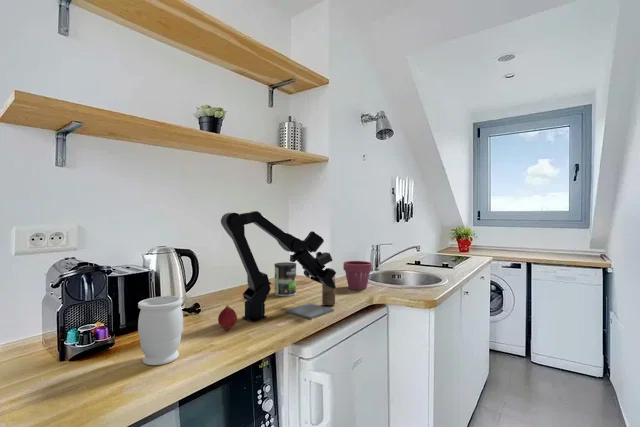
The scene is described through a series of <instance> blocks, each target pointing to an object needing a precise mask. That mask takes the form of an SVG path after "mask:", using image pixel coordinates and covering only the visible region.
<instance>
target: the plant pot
mask: <svg viewBox="0 0 640 427" xmlns="http://www.w3.org/2000/svg"><path fill="white" fill-rule="evenodd" d="M372 264H373V263H372V262H369V261H363V260H350V261H349V260H348V261H344V262H343V271H344V272H345V276H346V283H347V285H348V288H349V289H350V290H357V291H358V290H360V291H361V290H366V289H367V288H368V283H369V278H370V273H371V272H372V270H373V265H372Z"/></svg>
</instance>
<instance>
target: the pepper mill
mask: <svg viewBox="0 0 640 427" xmlns="http://www.w3.org/2000/svg"><path fill="white" fill-rule="evenodd" d="M332 279H333V282H334V284H335V285H336V275H334V277H333V278H332ZM321 287H322V288H321V290H322V291H321V296H322V298H321V304H322V305H323V306H333V305H335V304H336V288H335V289H333V288H331V287H329V286H326V285H324V284H322V285H321Z"/></svg>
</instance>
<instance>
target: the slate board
mask: <svg viewBox="0 0 640 427" xmlns="http://www.w3.org/2000/svg"><path fill="white" fill-rule="evenodd" d="M332 311H333V312H334V311H335V309H334V308H332V307H327V306H324V305H323V306H322V305H318V304H315V303H309V302H308V303H305V304H301V305H298V306H296V307H292V308H288V309H285V313H287V314H289V315H290V314H291V315H295V316H298V317H302V318H304V317H305V318H306V319H308V318H309V320H313V319H312V318H314V319H316V318H319V317H322V316H324V315H323V314H325V315H327V314H330V313H333V312H332ZM329 312H330V313H329ZM326 313H327V314H326ZM321 315H322V316H321ZM318 316H319V317H318ZM315 317H316V318H315ZM305 318H304V319H305Z"/></svg>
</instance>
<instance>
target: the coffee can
mask: <svg viewBox="0 0 640 427" xmlns="http://www.w3.org/2000/svg"><path fill="white" fill-rule="evenodd" d="M273 266H274V296H277V297H292V296H296V295H297V263H296V262H290V261H288V262H287V261H286V262H285V261H283V262H276V263H274V265H273Z"/></svg>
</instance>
